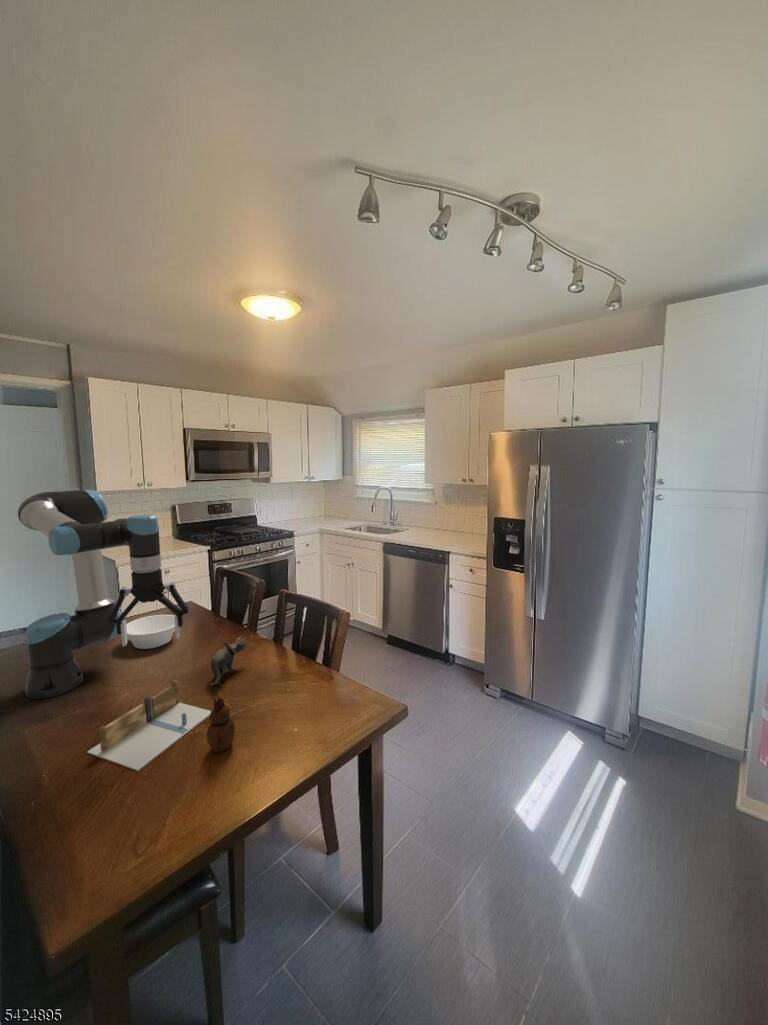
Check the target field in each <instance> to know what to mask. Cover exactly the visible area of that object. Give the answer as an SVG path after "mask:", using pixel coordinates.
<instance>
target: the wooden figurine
mask: <svg viewBox="0 0 768 1025" xmlns="http://www.w3.org/2000/svg"><path fill="white" fill-rule="evenodd" d="M210 711H211V713H210V716H209V721H210V722H211V723H210V724H209V725H208V726H207V729H206V741H207V744H208V745H209V748H210V749H211V750H212V751H213V752H214V753H215V752H216V753H221V752H224V751H226V750H228V749H229V748H230V746H232V744H233V742H234V739H235V733H236V732H235V730H236V729H235V728H236V727H235V722H234V720H233V718H232V717H230V713H231V711H230V708H229V705H226V704H225V700H224V698H222V697H219V696H217V699H216V697H213V708H212V709H211V710H210Z"/></svg>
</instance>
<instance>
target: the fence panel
mask: <svg viewBox="0 0 768 1025" xmlns="http://www.w3.org/2000/svg"><path fill="white" fill-rule="evenodd" d="M145 723H146V718H145V703H140V704H139V705H137V706H136V707H134V708H132V709H131V710H130V711H128V712H125V713H124V714H123V715H121V716H119V717H117V718H116V719H114V720H113V721H111V722H110V723H108V724H106V725H102V726H100V727H99V728H98V730H99V731H98V732H99V741H100V742H99V744H100V745H101V751H105V750H107V749H108V748H109V747H111V746H112V745H114V744H115V743H117V742H118V741H119V740H121V739H122V738H124V737H125V736H127V735H128V734H130V733H131V732H133V731H134V730H136V729H137V728H139V727H140V726H142V725H143V724H145Z"/></svg>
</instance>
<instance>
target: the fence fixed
mask: <svg viewBox="0 0 768 1025" xmlns="http://www.w3.org/2000/svg"><path fill="white" fill-rule="evenodd" d="M179 691H180V690H179V681H178V679H173V680H172V681H171V685H170V686H168V687H166V688H165V689H163V690H162V691H160V692H159V693H157V694H155V695H153V696H152V697H151V696H150V695H149V696H145V697H144V698H143V700H144V706H145V714H146V722H147V723H149V722H151V721H152V717H153V718H156V717H157V716H159V715H160V714H162V713H163V712H165V711H166V710H168V709H169V708H171V707H172V706H174V705H175V704H177V703H179V702H180V692H179Z"/></svg>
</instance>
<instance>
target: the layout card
mask: <svg viewBox="0 0 768 1025" xmlns="http://www.w3.org/2000/svg"><path fill="white" fill-rule="evenodd" d="M210 713H211V710H210V709H209V710H208V709H205V708H200V707H197V706H194V705H190V704H186V703H183V702H180V701H179V703H177V704H175V705H174V706H172V707H171V708H169V709H168V710H166V711H165V712H163V713H162V714H160V715H159V716H157V717H156V718H153V717H152V721H151V722H149V723H147V722H146V723H145V724H143V725H142V726H140V727H139V728H137V729H136V730H134V731H133V732H131V733H130V734H128V735H127V736H125V737H124V738H122V739H121V740H119V741H118V742H117V743H115V744H114V745H112V746H111V747H109V748H108V749H107V750H105V751H101V745H100V743H98V744H97V745H95V746H93V747H92V748H90V749H89V750H87V751H86V752H87V754H89V755H92V756H94V757H98V758H100V759H103V760H105V761H108V762H112V763H114V764H117V765H119V766H123V767H125V768H128V769H131V770H134V771H137V772H140V771H141V770H142V769H143V768H145V767H146V766H147V765H148V764H150V763H151V762H152V761H153V760H155V759H156V758H157V757H158V756H160V755H161V754H162V753H164V752H165V751H166V750H167V749H169V748H170V747H171V746H173V745H174V744H175V743H177V741H179V740H180V739H181V738H183V737H184V736H186V735H187V734H188V733H189V732H191V731H192V730H193V729H194V728H196V727H197V726H198V725H199V724H201V723H202V722H204V721H206V719H208V718H210ZM145 718H146V714H145Z"/></svg>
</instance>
